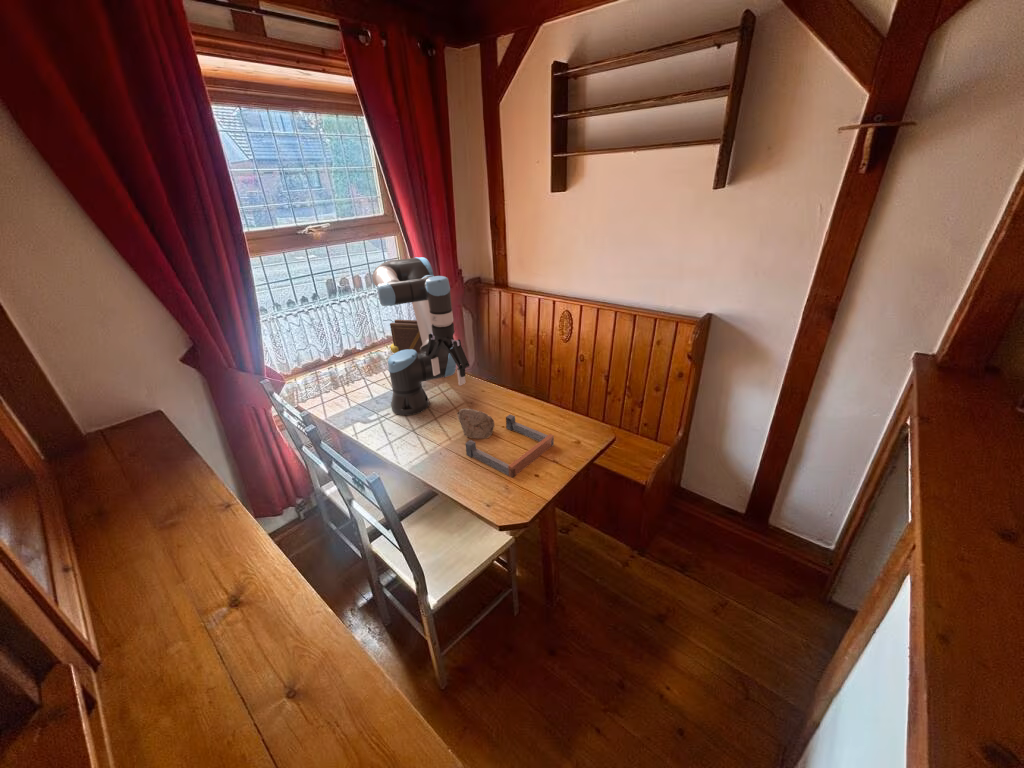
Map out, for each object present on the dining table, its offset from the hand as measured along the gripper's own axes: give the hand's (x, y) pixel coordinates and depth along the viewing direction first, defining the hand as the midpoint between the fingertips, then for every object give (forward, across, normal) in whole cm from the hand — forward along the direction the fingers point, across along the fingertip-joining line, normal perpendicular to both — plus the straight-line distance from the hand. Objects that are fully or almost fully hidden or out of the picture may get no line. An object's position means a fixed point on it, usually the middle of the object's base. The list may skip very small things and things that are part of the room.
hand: (449, 379), depth 154 cm
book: (+19, -48, +21) cm, 56 cm away
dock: (+18, +29, -1) cm, 34 cm away
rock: (+19, +12, -1) cm, 22 cm away
